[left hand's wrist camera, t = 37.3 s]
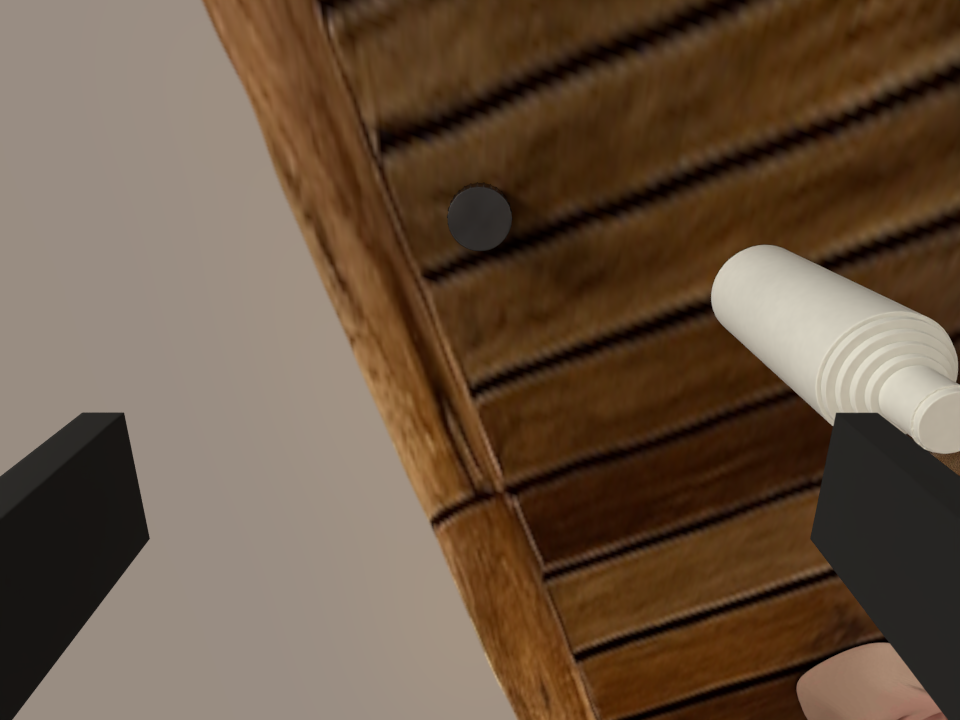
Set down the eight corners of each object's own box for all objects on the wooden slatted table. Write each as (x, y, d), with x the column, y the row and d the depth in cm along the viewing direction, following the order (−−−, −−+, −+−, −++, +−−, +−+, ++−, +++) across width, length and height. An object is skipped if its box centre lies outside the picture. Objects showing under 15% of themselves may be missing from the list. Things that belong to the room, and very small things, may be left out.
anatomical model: (791, 739, 54) (906, 650, 51) (771, 698, 58) (877, 613, 55) (899, 812, 57) (1014, 732, 54) (873, 768, 61) (980, 692, 58)
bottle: (760, 353, 47) (945, 519, 28) (691, 302, 46) (838, 440, 27) (826, 280, 45) (1071, 405, 26) (756, 225, 44) (962, 316, 25)
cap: (515, 186, 43) (517, 190, 41) (506, 249, 44) (507, 256, 42) (452, 178, 43) (451, 181, 41) (444, 241, 44) (443, 247, 42)
